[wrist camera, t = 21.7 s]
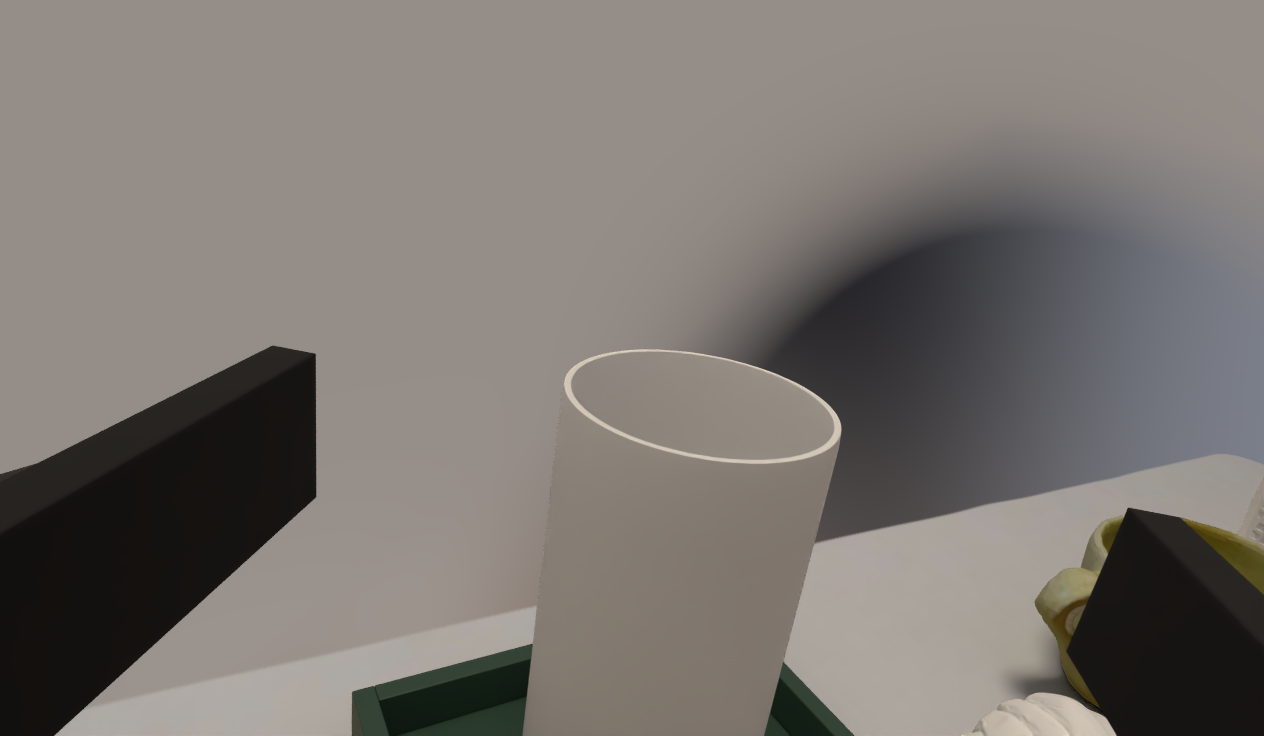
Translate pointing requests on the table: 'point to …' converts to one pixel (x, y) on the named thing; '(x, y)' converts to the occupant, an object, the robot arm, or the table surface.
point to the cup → (674, 545)
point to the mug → (1075, 585)
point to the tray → (496, 701)
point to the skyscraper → (1254, 519)
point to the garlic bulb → (1042, 718)
